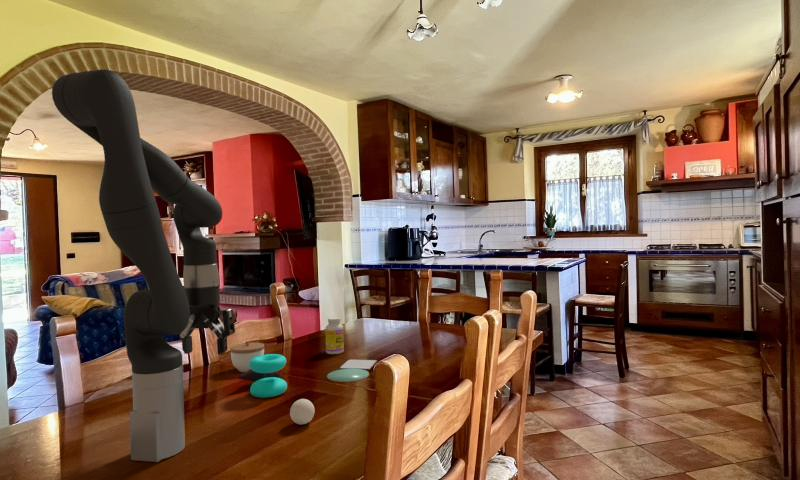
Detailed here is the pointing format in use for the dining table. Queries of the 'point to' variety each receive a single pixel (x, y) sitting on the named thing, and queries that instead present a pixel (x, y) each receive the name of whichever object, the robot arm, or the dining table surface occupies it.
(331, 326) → the supplement bottle
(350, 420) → the dining table surface
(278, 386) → the donuts
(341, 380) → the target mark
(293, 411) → the ball
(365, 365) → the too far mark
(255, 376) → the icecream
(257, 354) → the lidded jar
